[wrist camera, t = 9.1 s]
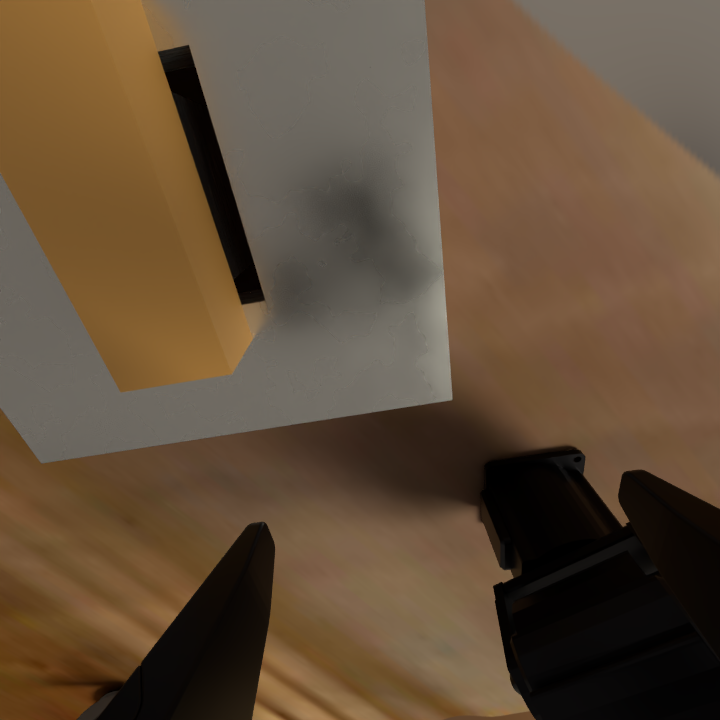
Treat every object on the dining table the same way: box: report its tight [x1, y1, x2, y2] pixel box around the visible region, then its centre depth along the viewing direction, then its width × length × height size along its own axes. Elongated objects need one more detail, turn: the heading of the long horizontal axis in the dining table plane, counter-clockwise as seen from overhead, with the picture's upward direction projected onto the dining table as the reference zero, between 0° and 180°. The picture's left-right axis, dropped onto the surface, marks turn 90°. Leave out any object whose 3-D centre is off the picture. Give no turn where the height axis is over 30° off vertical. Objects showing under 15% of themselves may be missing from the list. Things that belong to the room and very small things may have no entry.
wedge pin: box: [0, 0, 254, 392], centre depth 13 cm, size 4×11×7 cm, turn 10°
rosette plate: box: [0, 0, 453, 463], centre depth 15 cm, size 20×20×5 cm
